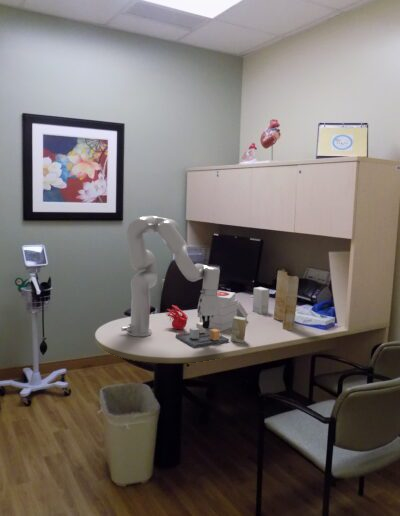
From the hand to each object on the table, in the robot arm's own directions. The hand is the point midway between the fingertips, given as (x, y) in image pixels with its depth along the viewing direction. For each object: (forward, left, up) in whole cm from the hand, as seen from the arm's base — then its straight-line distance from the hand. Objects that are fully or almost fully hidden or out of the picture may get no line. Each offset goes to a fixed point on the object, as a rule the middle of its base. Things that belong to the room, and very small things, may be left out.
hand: (205, 327), depth 234 cm
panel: (+2, +5, -8) cm, 10 cm away
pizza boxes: (+30, +24, -8) cm, 39 cm away
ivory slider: (+5, +11, -6) cm, 14 cm away
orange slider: (+5, -1, -6) cm, 8 cm away
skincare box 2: (+66, +33, -8) cm, 74 cm away
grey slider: (-3, +5, -6) cm, 8 cm away
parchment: (+62, +8, -8) cm, 63 cm away
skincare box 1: (+18, -4, -8) cm, 20 cm away
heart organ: (0, +25, -8) cm, 27 cm away
